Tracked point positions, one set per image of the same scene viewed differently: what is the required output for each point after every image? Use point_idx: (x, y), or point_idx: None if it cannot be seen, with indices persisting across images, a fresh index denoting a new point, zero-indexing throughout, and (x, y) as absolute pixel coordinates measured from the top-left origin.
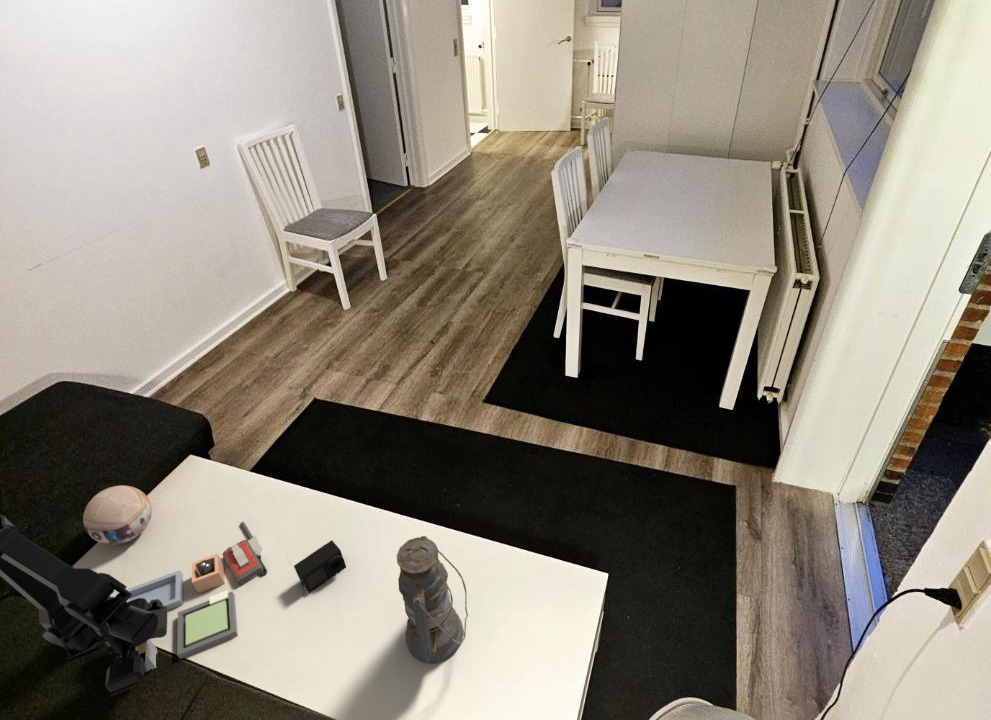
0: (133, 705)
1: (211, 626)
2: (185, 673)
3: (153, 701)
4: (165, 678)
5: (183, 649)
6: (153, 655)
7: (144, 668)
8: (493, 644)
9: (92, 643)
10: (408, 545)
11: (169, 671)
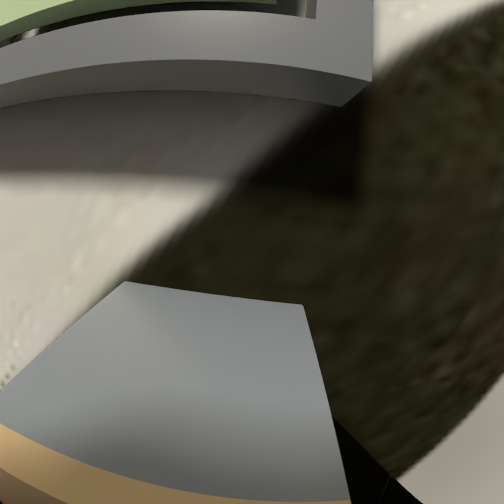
0: (439, 424)
1: None
2: (465, 109)
3: (501, 331)
4: (424, 252)
5: (326, 11)
6: (206, 344)
7: (352, 437)
8: None
9: None
10: None
11: (387, 215)
